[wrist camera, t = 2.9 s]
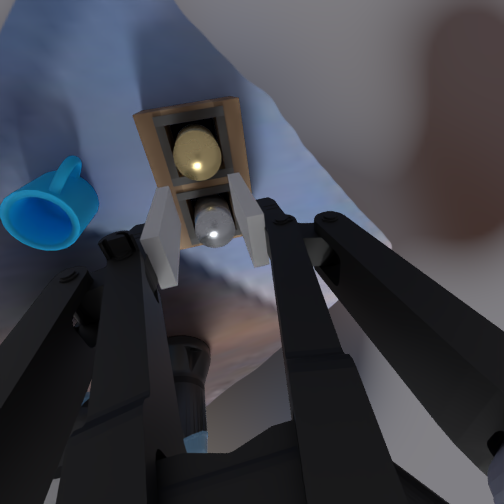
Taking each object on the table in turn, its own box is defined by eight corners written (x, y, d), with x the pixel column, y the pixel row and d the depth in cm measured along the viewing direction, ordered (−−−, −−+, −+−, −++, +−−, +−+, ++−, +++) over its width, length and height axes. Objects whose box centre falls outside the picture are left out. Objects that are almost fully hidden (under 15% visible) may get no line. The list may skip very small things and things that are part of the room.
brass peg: (182, 168, 34) (181, 184, 28) (170, 127, 31) (166, 136, 25) (219, 161, 34) (225, 176, 29) (211, 120, 31) (216, 127, 26)
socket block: (180, 228, 44) (179, 250, 38) (142, 110, 34) (131, 115, 28) (248, 214, 45) (257, 233, 39) (230, 96, 35) (239, 97, 29)
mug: (89, 231, 41) (69, 259, 34) (28, 208, 37) (-8, 234, 31) (116, 166, 37) (99, 183, 30) (50, 132, 33) (15, 144, 26)
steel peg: (198, 227, 39) (200, 251, 33) (190, 197, 36) (190, 217, 30) (231, 221, 39) (238, 243, 34) (224, 190, 36) (231, 208, 31)
